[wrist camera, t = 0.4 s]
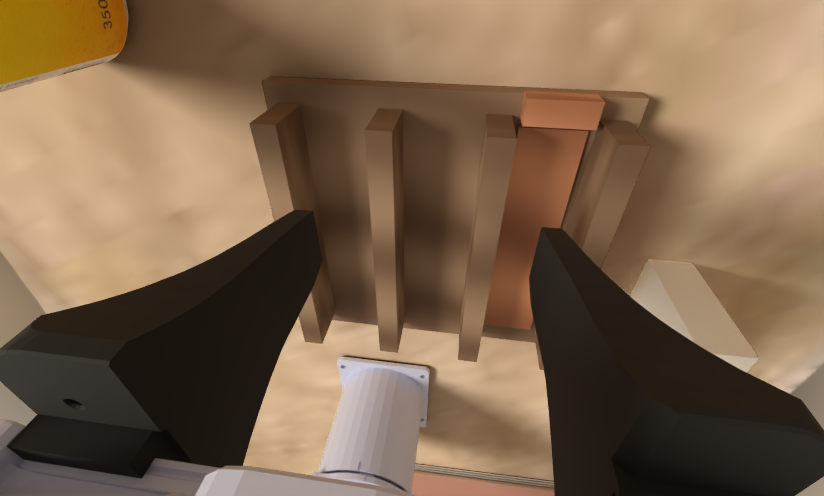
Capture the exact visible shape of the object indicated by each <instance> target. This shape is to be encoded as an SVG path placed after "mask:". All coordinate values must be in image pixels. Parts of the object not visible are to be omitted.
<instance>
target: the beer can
mask: <svg viewBox="0 0 824 496" xmlns="http://www.w3.org/2000/svg"><path fill="white" fill-rule="evenodd" d="M128 22H129V16H128V7H127V3H126V0H0V92H2V91H6V90H9V89H13V88H16V87H20V86H23V85H27V84H31V83H34V82H38V81H41V80H45V79H48V78H52V77H55V76H59V75H62V74H66V73H69V72H73V71H76V70H80V69H84V68H87V67H91V66H94V65H98V64H101V63H105V62H108V61H110V60H112V59H114V58H115V57H116V56H117V55H118V54H119V53H120V52H121V50H122V49H123V47H124V44H125V42H126V38H127V30H128Z"/></svg>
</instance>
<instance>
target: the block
mask: <svg viewBox="0 0 824 496" xmlns="http://www.w3.org/2000/svg"><path fill="white" fill-rule="evenodd" d="M630 297H631V298H632V299H634V300H635V301H636V302H637V303H639V304H640V305H641V306H642V307H644V308H645V309H646V310H648V311H649V312H650V313H652V314H653V315H654V316H655V317H657V318H658V319H660V320H661V321H662V322H664V323H665V324H667V325H668V326H670V327H671V328H673V329H674V330H676V331H677V332H679V333H680V334H682V335H683V336H685V337H686V338H688V339H689V340H691V341H692V342H694V343H696V344H697V345H699V346H701V347H702V348H704V349H705V350H707V351H709V352H710V353H712V354H714V355H716V356H717V357H719V358H721V359H723V360H725V361H726V362H728V363H730V364H732V365H733V366H735V367H737V368H739V369H741V370H742V371H744V372H746V373H747V372H748V370H749V369H750V368H751V367H752V366H753V365H754V364H755V363H756V362H757V361H758V359H759V358H758V356H757V355H756V353H755V352H754V350H753V349H752V348H751V346H750V345H749V343H748V342H747V340H746V339H745V338H744V336H743V335H742V333H741V332H740V330H739V329H738V328H737V326H736V325H735V323H734V322H733V320H732V319H731V318H730V316H729V315H728V313H727V312H726V310H725V309H724V308H723V306H722V305H721V303H720V302H719V300H718V299H717V298H716V296H715V295H714V293H713V292H712V290H711V289H710V288H709V286H708V285H707V283H706V282H705V280H704V279H703V277H702V276H701V275H700V273H699V272H698V270H697V269H696V267H695V266H694V265H693V263H690V262H678V261H667V260H655V259H648V260H647V262H646V264H645V266H644V268H643V270H642V272H641V274H640V276H639V278H638V280H637V282H636V284H635V286H634V288H633V290H632V292H631V294H630Z"/></svg>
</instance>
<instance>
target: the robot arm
mask: <svg viewBox="0 0 824 496" xmlns="http://www.w3.org/2000/svg"><path fill="white" fill-rule="evenodd" d="M321 263H322V254H321V249H320V244H319V238H318V233H317V228H316V222H315V217H314V212H313V211H309V210H294V211H292V212H290V213H288V214H286V215H285V216H283V217H281V218H280V219H278V220H276V221H275V222H273V223H271V224H270V225H268V226H267V227H265V228H263V229H262V230H260V231H259V232H257V233H255V234H254V235H252V236H251V237H249V238H247V239H246V240H244V241H242V242H240V243H239V244H237V245H235V246H233V247H231V248H230V249H228V250H226V251H224V252H223V253H221V254H219V255H217V256H215V257H213V258H211V259H209V260H207V261H205V262H203V263H201V264H199V265H197V266H195V267H192V268H190V269H188V270H186V271H184V272H181V273H179V274H176V275H174V276H171V277H169V278H166V279H163V280H161V281H158V282H156V283H153V284H151V285H148V286H145V287H142V288H140V289H136V290H133V291H130V292H127V293H124V294H121V295H118V296H115V297H111V298H108V299H105V300H101V301H98V302H94V303H90V304H86V305H82V306H78V307H74V308H70V309H66V310H62V311H58V312H54V313H50V314H46V315H41V316H40V317H39V318H37V319H36V320H34V321H33V322H32V323H31V324H30V325H29V326H27V327H26V328H25V329H24V330H22V331H21V332H20V333H19V334H18V335H16V336H15V337H14V338H13V339H12V340H10V341H9V342H8V343H6V344H5V345H4V346H3V347H2V348H0V381H1V382H2V383H3V384H4V385H5V386H6V387H7V388H8V389H10V390H11V391H12V392H13V393H14V394H15V395H16V396H17V397H18V398H19V399H21V400H22V401H23V402H24V403H25V404H26V405H27V406H28V407H30V408H31V409H32V410H33V411H34V412H35V413H36V414H38V415H37V416H35V418H34V419H33V420H32V421H31V422H30V423H29V424H28V425H27V426H24V425H22V424H19V423H17V422H14V421H10V420H4V419H0V496H416V495H415V494H411V493H412V485H413V477H414V469H415V461H416V453H417V445H418V437H419V429H420V427H425V426H426V424H427V408H428V391H429V374H430V370H429V369H428V368H427V367H424V366H417V365H408V364H400V363H392V362H384V361H375V360H367V359H359V358H350V357H339V358H338V361H337V364H338V370H339V375H340V380H341V386H342V391H343V392H342V395H341V399H340V402H339V405H338V408H337V411H336V415H335V418H334V421H333V424H332V427H331V431H330V434H329V437H328V440H327V444H326V447H325V450H324V453H323V456H322V460H321V463H320V466H319V469H318V472H314V473H313V475H305V474H298V473H292V472H285V471H278V470H272V469H265V468H259V467H252V466H243V463H244V459H245V456H246V452H247V449H248V445H249V442H250V438H251V435H252V432H253V429H254V426H255V423H256V419H257V416H258V413H259V410H260V407H261V404H262V401H263V398H264V395H265V393H266V390H267V387H268V384H269V381H270V378H271V376H272V373H273V371H274V368H275V365H276V363H277V360H278V358H279V355H280V352H281V350H282V348H283V346H284V344H285V341H286V339H287V337H288V335H289V333H290V331H291V330H292V328H293V326H294V324H295V322H296V320H297V318H298V316H299V314H300V312H301V310H302V308H303V306H304V304H305V302H306V300H307V299H308V297H309V295H310V293H311V291H312V289H313V286H314V284H315V281H316V278H317V276H318V273H319V270H320V267H321ZM529 288H530V302H531V309H532V314H533V319H534V324H535V329H536V334H537V338H538V343H539V348H540V353H541V357H542V362H543V367H544V373H545V379H546V387H547V397H548V407H549V418H550V431H551V443H552V459H553V475H554V494H555V496H795V495H797V494H798V493H799V492H801V491H803V490H804V489H805V488H807V487H808V486H810V485H811V484H813V483H815V482H816V481H817V480H819V479H820V478H822V477H823V476H824V430H823V428H822V427H821V426H820V424H819V423H818V422H817V420H816V419H815V418H814V416H813V415H812V414H811V412H810V411H809V410H808V408H807V407H806V405H805V404H804V403H803V402H802V400H800V399H798V398H796V397H794V396H792V395H790V394H788V393H786V392H784V391H782V390H780V389H778V388H776V387H774V386H772V385H770V384H768V383H766V382H764V381H762V380H760V379H758V378H756V377H754V376H752V375H750V374H748V373H746V372H744V371H742V370H741V369H739V368H737V367H735V366H733V365H732V364H730V363H728V362H726V361H725V360H723V359H721V358H719V357H717V356H716V355H714V354H712V353H710V352H709V351H707V350H705V349H704V348H702V347H701V346H699V345H697V344H696V343H694V342H692V341H691V340H689V339H688V338H686V337H685V336H683V335H682V334H680V333H679V332H677V331H676V330H674V329H673V328H671V327H670V326H668V325H667V324H665V323H664V322H662V321H661V320H660V319H658V318H657V317H655V316H654V315H653V314H652V313H650V312H649V311H648V310H646V309H645V308H644V307H642V306H641V305H640V304H639V303H637V302H636V301H635V300H634V299H632V298H631V297H630V296H629V295H628V294H626V293H625V292H624V291H623V290H622V289H621V288H620V287H619V286H618V285H616V284H615V283H614V282H613V281H612V280H611V279H610V278H609V277H608V276H607V275H606V274H605V273H604V272H603V271H602V270H601V269H600V268H599V267H598V266H597V265H596V264H595V263H594V262H593V261H592V260H591V259H590V258H589V257H588V256H587V255H586V254H585V253H584V252H583V251H582V250H581V248H580V247H579V246H578V245H577V244H576V243H575V242H574V241H573V240H572V239H571V237H570V236H569V235H568V234H567V233H566V232H565V231H564V230H563V229H562V228H548V227H541V230H540V234H539V238H538V243H537V247H536V251H535V255H534V259H533V263H532V267H531V271H530V275H529Z"/></svg>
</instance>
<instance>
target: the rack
mask: <svg viewBox="0 0 824 496" xmlns="http://www.w3.org/2000/svg"><path fill="white" fill-rule="evenodd" d="M262 86H263V90H264V95H265V99H266V104H267V108H268V110H267V111H266V112H265V113H263V114H262V115H260V116H259V117H258V118H256V119H255V120H254V121H252V122H251V123H249V124H250V128H251V132H252V135H253V139H254V143H255V147H256V151H257V155H258V159H259V163H260V167H261V171H262V175H263V178H264V182H265V186H266V190H267V194H268V198H269V202H270V206H271V210H272V214H273V218H274V222H275V221H276V220H278V219H280V218H281V217H283V216H285V215H286V214H288V213H290V212H292V211H294V210H309V211H313V212H314V217H315V222H316V228H317V233H318V238H319V244H320V249H321V254H322V263H321V267H320V270H319V273H318V276H317V278H316V281H315V284H314V286H313V289H312V291H311V293H310V295H309V297H308V299H307V300H306V302H305V304H304V306H303V308H302V310H301V312H300V314H299V319H300V323H301V327H302V331H303V335H304V339H305V342H312V343H320V344H322V343H323V340H324V338H325V335H326V333H327V331H328V328H329V326H330V323H331V321H332V320H337V321H346V322H355V323H364V324H373V325H378V329H379V343H380V351H388V352H397V353H398V349H399V344H400V339H401V334H402V329H403V328H409V329H418V330H427V331H436V332H445V333H454V334H459V352H458V360H464V361H473V362H477V357H478V352H479V346H480V340H481V337H490V338H499V339H508V340H517V341H526V342H535V343H536V348H537V355H538V362H539V368H540V370H544V367H543V362H542V357H541V353H540V348H539V343H538V338H537V334H536V329H535V324H534V319H533V314H532V309H531V302H530V288H529V275H530V271H531V267H532V263H533V259H534V255H535V251H536V247H537V243H538V238H539V234H540V230H541V227H548V228H562V229H563V230H564V231H565V232H566V233H567V234H568V235H569V236H570V237H571V239H572V240H573V241H574V242H575V243H576V244H577V245H578V246H579V247H580V248H581V250H582V251H583V252H584V253H585V254H586V255H587V256H588V257H589V258H590V259H591V260H592V261H593V262H594V263H595V264H596V265H597V266H598V267H599V268H600V269H601V267H602V265H603V262H604V260H605V257H606V255H607V252H608V250H609V247H610V245H611V242H612V240H613V238H614V235H615V233H616V230H617V228H618V225H619V223H620V220H621V218H622V215H623V213H624V210H625V208H626V206H627V203H628V201H629V198H630V196H631V193H632V191H633V188H634V186H635V183H636V181H637V178H638V176H639V174H640V171H641V169H642V166H643V164H644V161H645V159H646V156H647V154H648V151H649V149H650V145H649V144H648V143H647V142H646V141H645V140H644V139H643V138H642V136H641V135H640V134H639V133H638V132H637V131H638V128H639V125H640V123H641V120H642V117H643V115H644V112H645V109H646V107H647V104H648V101H649V98H648V97H647V96H645V95H644V94H643V93H642V92H620V91H597V90H574V89H550V88H527V87H504V86H481V85H458V84H435V83H411V82H388V81H365V80H342V79H319V78H296V77H272V76H270V77H268V78H267V79H265V80H263V81H262Z"/></svg>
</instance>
